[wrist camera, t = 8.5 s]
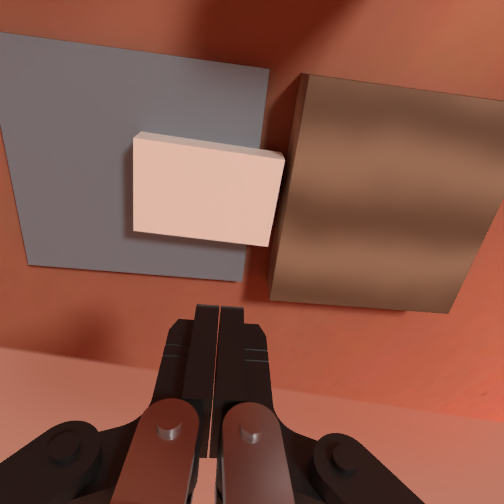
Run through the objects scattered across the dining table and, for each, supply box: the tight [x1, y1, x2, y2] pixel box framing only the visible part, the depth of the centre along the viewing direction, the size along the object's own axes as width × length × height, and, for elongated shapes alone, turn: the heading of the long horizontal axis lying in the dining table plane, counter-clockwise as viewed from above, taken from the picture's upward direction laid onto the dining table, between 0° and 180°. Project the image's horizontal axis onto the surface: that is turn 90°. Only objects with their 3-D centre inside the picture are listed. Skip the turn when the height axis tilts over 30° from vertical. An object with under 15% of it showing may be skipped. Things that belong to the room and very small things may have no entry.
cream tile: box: [133, 131, 285, 247], centre depth 23 cm, size 6×9×2 cm, turn 81°
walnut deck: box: [267, 73, 504, 314], centre depth 25 cm, size 15×14×3 cm
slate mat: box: [0, 32, 270, 282], centre depth 24 cm, size 15×16×1 cm
